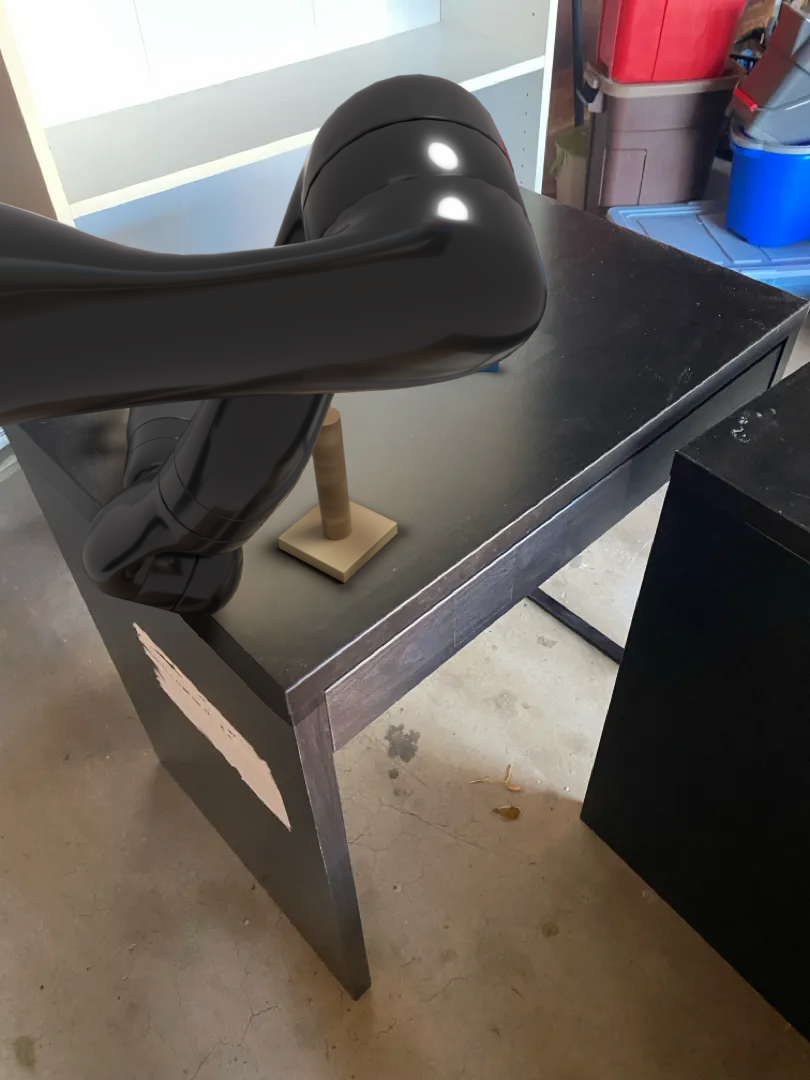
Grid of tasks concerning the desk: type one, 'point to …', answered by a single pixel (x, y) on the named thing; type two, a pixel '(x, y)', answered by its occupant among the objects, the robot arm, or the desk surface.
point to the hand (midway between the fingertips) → (183, 326)
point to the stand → (336, 515)
